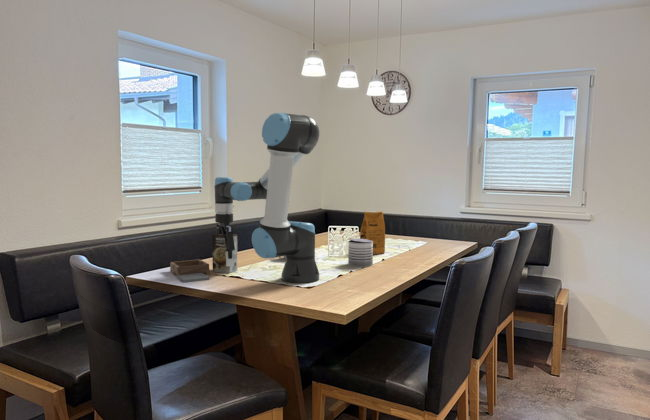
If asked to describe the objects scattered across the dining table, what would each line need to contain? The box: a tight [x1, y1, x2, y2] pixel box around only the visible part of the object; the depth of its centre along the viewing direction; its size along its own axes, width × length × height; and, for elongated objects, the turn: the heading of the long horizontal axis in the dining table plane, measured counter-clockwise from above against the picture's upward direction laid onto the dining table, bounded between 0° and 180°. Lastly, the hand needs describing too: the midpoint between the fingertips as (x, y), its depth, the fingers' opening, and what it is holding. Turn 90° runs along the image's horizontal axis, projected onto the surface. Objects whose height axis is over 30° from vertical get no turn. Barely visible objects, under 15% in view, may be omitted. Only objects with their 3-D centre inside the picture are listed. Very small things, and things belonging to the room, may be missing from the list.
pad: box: [176, 273, 210, 283], centre depth 196 cm, size 10×10×1 cm
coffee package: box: [359, 211, 386, 255], centre depth 255 cm, size 10×12×22 cm
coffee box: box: [211, 233, 238, 274], centre depth 209 cm, size 9×6×16 cm
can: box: [347, 237, 374, 268], centre depth 225 cm, size 11×11×12 cm
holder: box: [169, 259, 210, 277], centre depth 207 cm, size 13×13×4 cm
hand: (224, 263), depth 210 cm, fingers closed on coffee box, 11 cm apart
